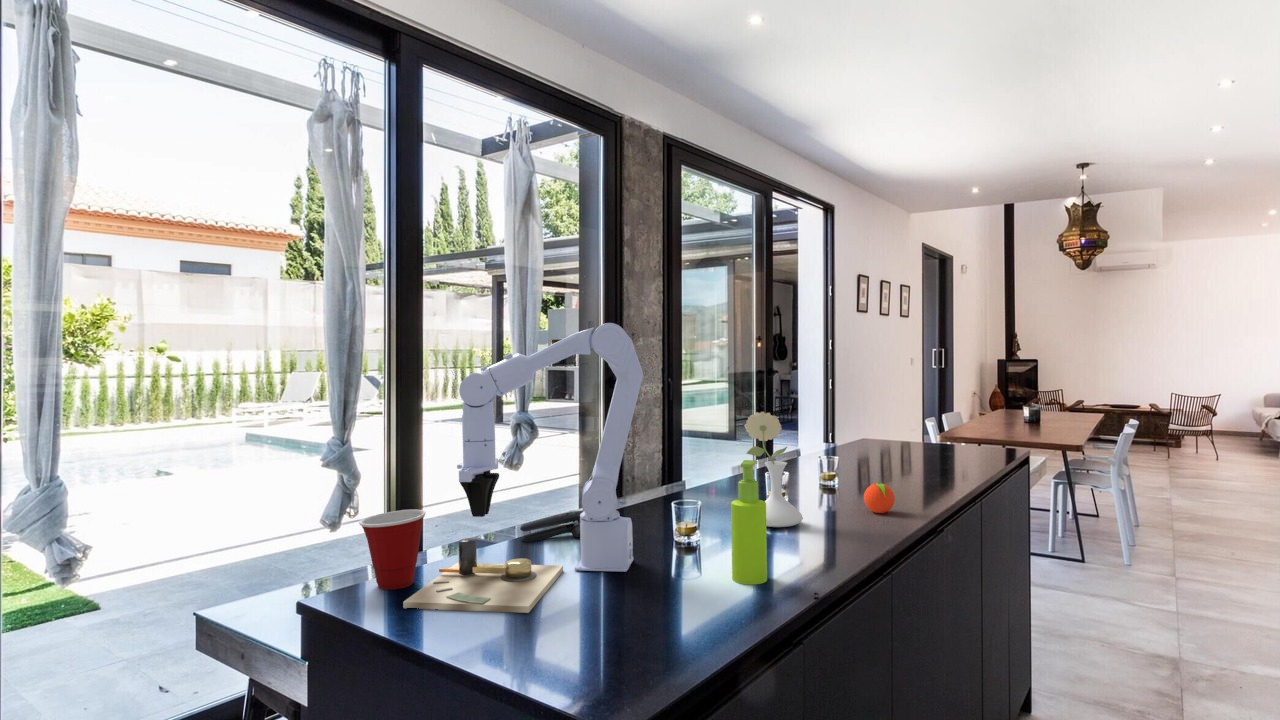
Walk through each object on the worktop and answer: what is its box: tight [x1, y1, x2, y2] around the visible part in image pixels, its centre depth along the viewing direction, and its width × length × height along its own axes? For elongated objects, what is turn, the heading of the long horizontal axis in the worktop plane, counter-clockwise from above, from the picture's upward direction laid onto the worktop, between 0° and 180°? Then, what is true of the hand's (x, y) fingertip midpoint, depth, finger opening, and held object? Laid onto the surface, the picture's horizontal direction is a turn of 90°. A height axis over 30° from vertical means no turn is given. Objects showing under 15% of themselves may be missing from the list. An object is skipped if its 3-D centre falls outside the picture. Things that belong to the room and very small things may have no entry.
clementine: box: [863, 482, 896, 514], centre depth 174 cm, size 8×7×7 cm
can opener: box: [519, 509, 584, 543], centre depth 157 cm, size 18×7×6 cm, turn 110°
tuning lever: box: [438, 537, 532, 578], centre depth 128 cm, size 16×4×6 cm, turn 82°
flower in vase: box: [744, 411, 804, 528], centre depth 165 cm, size 13×11×25 cm
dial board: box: [402, 562, 564, 614], centre depth 124 cm, size 20×21×1 cm
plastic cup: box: [358, 509, 426, 591], centre depth 127 cm, size 11×11×12 cm
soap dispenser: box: [730, 459, 768, 586], centre depth 127 cm, size 6×7×20 cm
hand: (480, 515), depth 135 cm, fingers closed
